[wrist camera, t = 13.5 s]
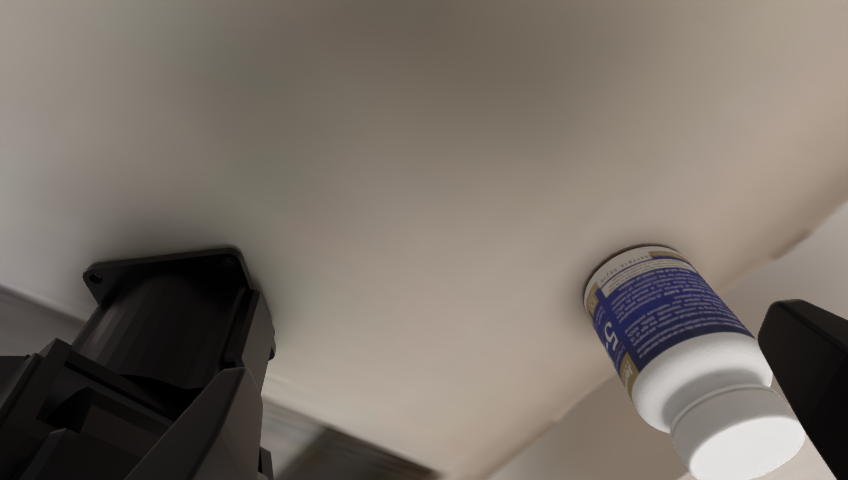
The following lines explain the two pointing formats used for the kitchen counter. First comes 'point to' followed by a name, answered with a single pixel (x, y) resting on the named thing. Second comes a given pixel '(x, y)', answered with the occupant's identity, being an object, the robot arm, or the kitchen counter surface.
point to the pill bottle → (691, 365)
